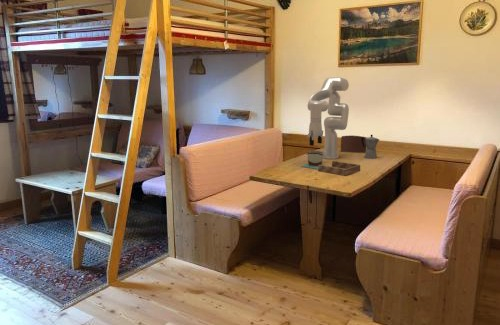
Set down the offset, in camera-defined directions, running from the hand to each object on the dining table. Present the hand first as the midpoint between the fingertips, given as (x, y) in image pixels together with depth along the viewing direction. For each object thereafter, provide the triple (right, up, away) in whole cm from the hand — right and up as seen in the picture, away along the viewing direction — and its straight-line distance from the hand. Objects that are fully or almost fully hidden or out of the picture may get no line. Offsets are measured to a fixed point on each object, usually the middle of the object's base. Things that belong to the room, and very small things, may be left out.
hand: (315, 144), depth 286 cm
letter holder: (+41, -4, +57) cm, 70 cm away
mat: (0, -16, +3) cm, 16 cm away
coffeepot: (+47, -9, +31) cm, 57 cm away
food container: (+1, -15, +4) cm, 16 cm away
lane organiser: (+14, -18, -10) cm, 25 cm away
